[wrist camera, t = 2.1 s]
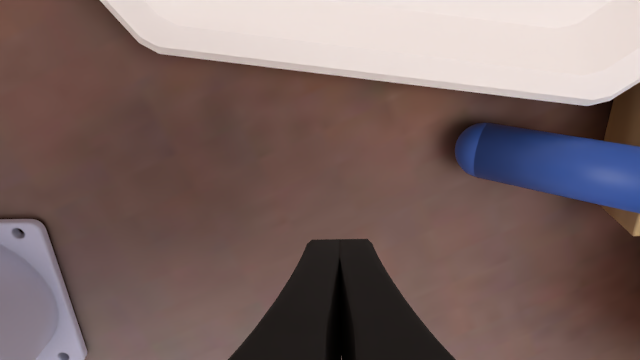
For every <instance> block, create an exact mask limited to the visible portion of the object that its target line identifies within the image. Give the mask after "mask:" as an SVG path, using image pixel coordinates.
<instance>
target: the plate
mask: <svg viewBox="0 0 640 360" xmlns="http://www.w3.org/2000/svg"><path fill="white" fill-rule="evenodd" d="M100 1H101V2H102V3H103V4H104V5H105V7H106V8H107V9H108V10H109V11H110V12H111V13H112V14H113V15H114V16H115V17H116V19H117V20H118V21H119V22H120V23H121V24H122V25H123V26H124V27H125V28H126V29H127V30H128V32H129V33H130V34H131V35H132V36H133V37H134V38H135V39H136V40H137V41H138V42H139V43H140V44H142V45H144V46H146V47H147V48H149V49H151V50H153V51H155V52H157V53H159V54H165V55H173V56H181V57H189V58H197V59H205V60H214V61H222V62H230V63H238V64H246V65H255V66H263V67H271V68H279V69H287V70H295V71H304V72H312V73H320V74H328V75H336V76H345V77H353V78H361V79H369V80H377V81H385V82H394V83H402V84H410V85H418V86H426V87H435V88H443V89H451V90H459V91H467V92H476V93H484V94H492V95H500V96H508V97H516V98H525V99H533V100H541V101H549V102H557V103H566V104H574V105H582V106H591V105H595V104H599V103H603V102H607V101H610V100H612V99H613V98H615V97H617V96H618V95H620V94H621V93H623V92H625V91H626V90H628V89H630V88H631V87H633V86H634V85H636V84H638V83H639V82H640V0H100Z"/></svg>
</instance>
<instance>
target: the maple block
mask: <svg viewBox="0 0 640 360" xmlns="http://www.w3.org/2000/svg"><path fill="white" fill-rule="evenodd" d="M604 141H607V142H614V143H620V144H626V145H633V146H639V147H640V82H639V83H638V84H636V85H634V86H633V87H631V88H630V89H628V90H626V91H625V92H623V93H621V94H620V95H618V96H617V97H615V98H614V100H613V104H612V109H611V113H610V117H609V121H608V125H607V129H606V133H605V137H604ZM600 206H601V207H602V208H603V209H604V210H605V211H606V212H607V213H608V214H609V215H611V216H612V217H613V218H614V219H615V220H616V221H617V222H618V223H619V224H620V225H621V226H622V227H624V228H625V229H626V230H627V231H628V232H629V233H630V234H631V235H633V236H640V214H639V213H635V212H630V211H626V210H621V209H617V208H612V207H608V206H603V205H600Z"/></svg>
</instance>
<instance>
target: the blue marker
mask: <svg viewBox="0 0 640 360" xmlns="http://www.w3.org/2000/svg"><path fill="white" fill-rule="evenodd" d="M455 156H456V160H457V162H458V164H459V165H460V167H461V168H462V169H463V170H464V171H465V172H466V173H468V174H470V175H472V176H475V177H478V178H483V179H487V180H492V181H496V182H501V183H505V184H510V185H514V186H519V187H523V188H528V189H532V190H536V191H541V192H545V193H550V194H554V195H559V196H563V197H568V198H572V199H577V200H581V201H585V202H590V203H594V204H599V205H603V206H608V207H612V208H617V209H621V210H626V211H630V212H635V213H639V214H640V147H639V146H633V145H626V144H620V143H614V142H607V141H601V140H595V139H588V138H582V137H576V136H569V135H563V134H557V133H550V132H544V131H538V130H531V129H525V128H518V127H512V126H506V125H499V124H493V123H477V124H474V125H472V126H470V127H468V128H467V129H465V130H464V131H463V132H462V133H461V135H460V136H459V138H458V139H457V142H456V146H455Z"/></svg>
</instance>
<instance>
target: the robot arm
mask: <svg viewBox="0 0 640 360" xmlns="http://www.w3.org/2000/svg"><path fill="white" fill-rule="evenodd" d="M18 228H19V229H21V230H22V231H23V232H24V233H22V232H20V231H19V229H18ZM341 355H342V360H455V359H454V357H453V356H452V355H451V354H450V353H449V352H448V351H447V350H446V349H445V348H444V347H443V346H442V345H441V343H440V342H439V341H438V340H437V339H436V338H435V337H434V335H433V334H432V333H431V332H430V331H429V330H428V328H427V327H426V326H425V325H424V323H423V322H422V321H421V320H420V318H419V317H418V316H417V315H416V313H415V312H414V311H413V309H412V308H411V307H410V305H409V304H408V303H407V301H406V300H405V299H404V297H403V296H402V294H401V293H400V291H399V290H398V288H397V287H396V286H395V284H394V283H393V281H392V279H391V278H390V276H389V275H388V273H387V271H386V270H385V268H384V266H383V265H382V263H381V261H380V259H379V257H378V255H377V254H376V251H375V249H374V247H373V244H372V243H371V242H370V241H369V240H368V239H336V240H311V241H310V242H309V243H308V244H307V246H306V248H305V251H304V253H303V255H302V257H301V259H300V261H299V263H298V265H297V267H296V268H295V270H294V272H293V274H292V275H291V277H290V279H289V280H288V282H287V283H286V285H285V287H284V288H283V290H282V291H281V293H280V294H279V296H278V298H277V299H276V300H275V302H274V303H273V305H272V306H271V307H270V309H269V310H268V311H267V313H266V314H265V315H264V317H263V318H262V320H261V321H260V322H259V324H258V325H257V326H256V328H255V329H254V330H253V331H252V333H251V334H250V335H249V336H248V337H247V339H246V340H245V341H244V342H243V343H242V345H241V346H240V347H239V348H238V349H237V350H236V351H235V352H234V354H233V355H232V356H231V357H230V358H229V359H228V360H341ZM86 356H87V349H86V346H85V343H84V340H83V337H82V334H81V331H80V328H79V325H78V322H77V319H76V316H75V313H74V310H73V307H72V304H71V301H70V298H69V295H68V292H67V289H66V286H65V283H64V280H63V277H62V274H61V271H60V268H59V265H58V263H57V260H56V257H55V254H54V251H53V248H52V245H51V242H50V239H49V236H48V233H47V230H46V228H45V226H44V225H43V224H42V223H41V222H40V221H38V220H36V219H0V360H84V359H85V357H86Z"/></svg>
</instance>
